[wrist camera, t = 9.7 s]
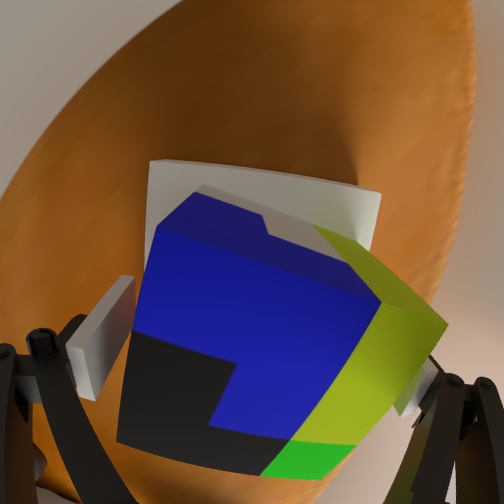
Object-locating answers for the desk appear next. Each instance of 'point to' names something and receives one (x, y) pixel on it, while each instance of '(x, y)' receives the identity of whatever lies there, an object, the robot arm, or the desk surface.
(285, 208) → the plinth
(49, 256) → the desk surface
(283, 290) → the puzzle toy
